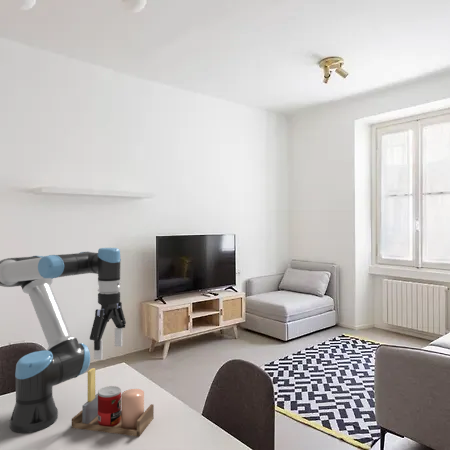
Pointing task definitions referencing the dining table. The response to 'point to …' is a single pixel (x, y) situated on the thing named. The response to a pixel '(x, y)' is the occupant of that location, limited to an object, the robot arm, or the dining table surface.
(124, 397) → the peach rounded capsule
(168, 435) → the dining table surface
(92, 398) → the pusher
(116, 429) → the brown wooden tray
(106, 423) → the canned food
